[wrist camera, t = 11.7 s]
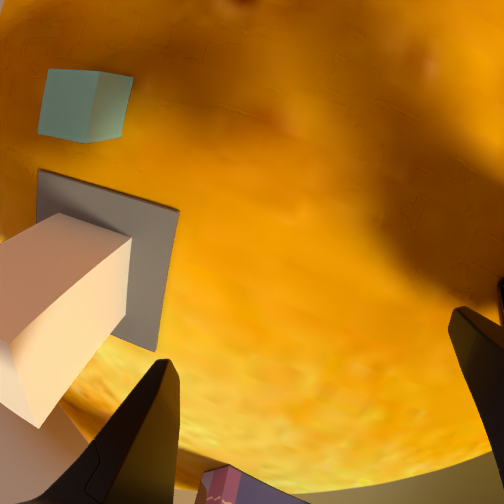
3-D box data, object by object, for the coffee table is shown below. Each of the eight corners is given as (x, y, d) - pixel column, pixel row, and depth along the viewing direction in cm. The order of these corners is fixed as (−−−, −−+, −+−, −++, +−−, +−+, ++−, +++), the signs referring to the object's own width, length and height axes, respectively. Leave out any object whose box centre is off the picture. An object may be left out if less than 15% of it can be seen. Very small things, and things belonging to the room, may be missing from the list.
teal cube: (134, 77, 17) (99, 71, 13) (121, 137, 18) (85, 143, 15) (86, 72, 17) (48, 68, 13) (75, 128, 19) (37, 133, 15)
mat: (179, 210, 20) (177, 212, 19) (156, 349, 25) (154, 352, 24) (41, 169, 20) (38, 170, 20) (42, 298, 25) (40, 300, 24)
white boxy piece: (131, 237, 21) (8, 344, 10) (125, 314, 23) (38, 428, 12) (58, 212, 21) (-67, 285, 10) (59, 286, 23) (-36, 373, 12)
